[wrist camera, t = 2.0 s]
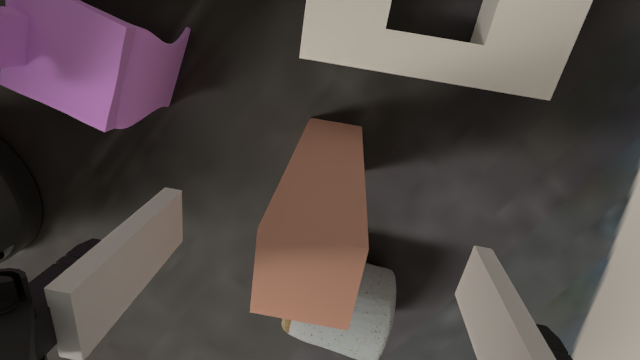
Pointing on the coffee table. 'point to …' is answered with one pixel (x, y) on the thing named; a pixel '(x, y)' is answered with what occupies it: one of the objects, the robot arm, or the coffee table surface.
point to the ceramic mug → (357, 319)
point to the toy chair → (86, 61)
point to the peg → (315, 231)
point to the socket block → (452, 43)
